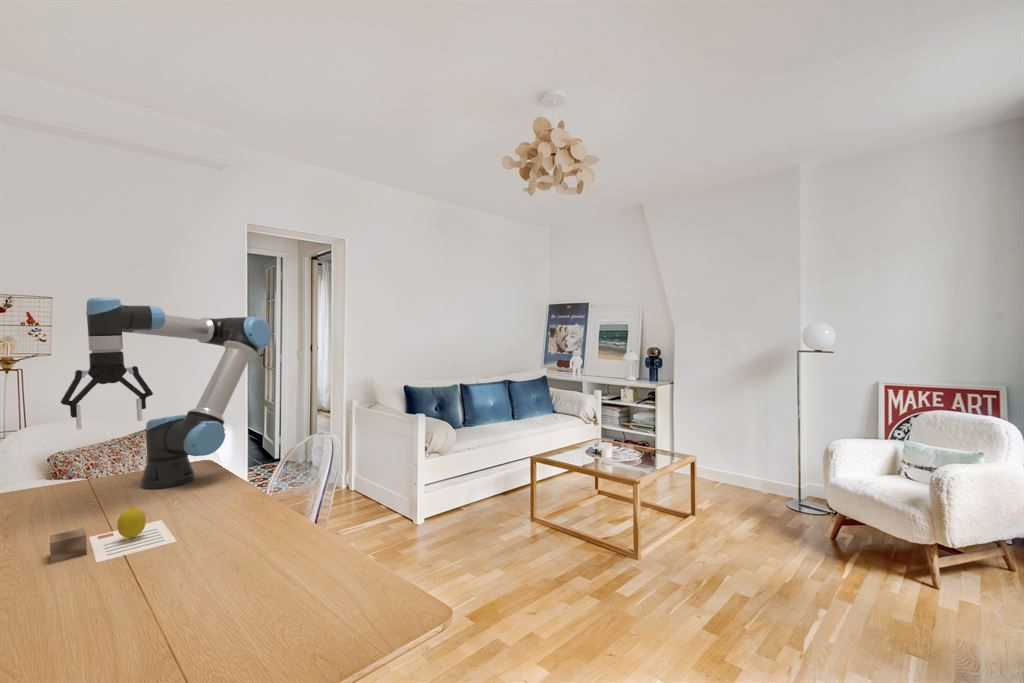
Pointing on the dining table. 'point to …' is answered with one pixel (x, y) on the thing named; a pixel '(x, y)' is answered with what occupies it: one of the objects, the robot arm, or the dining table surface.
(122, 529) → the lemon
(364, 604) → the dining table surface
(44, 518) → the dining table surface
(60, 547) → the walnut block
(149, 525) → the letter
